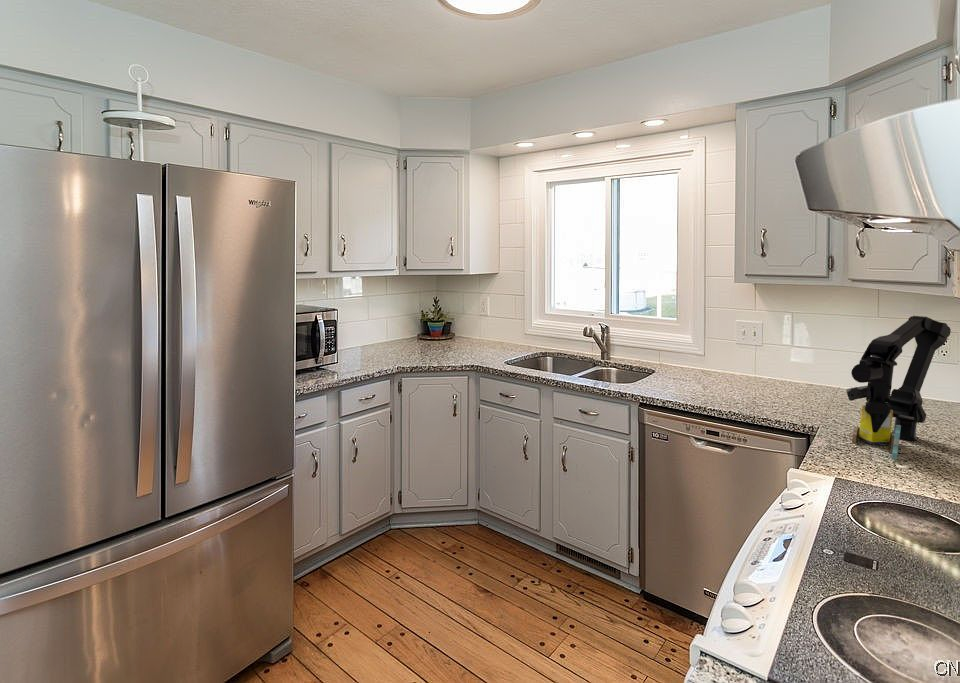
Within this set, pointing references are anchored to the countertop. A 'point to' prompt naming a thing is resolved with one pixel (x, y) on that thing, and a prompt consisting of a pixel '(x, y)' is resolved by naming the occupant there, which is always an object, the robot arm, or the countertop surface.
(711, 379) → the countertop surface
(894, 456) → the clip gate
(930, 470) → the countertop surface
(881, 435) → the supplement box
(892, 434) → the dock
